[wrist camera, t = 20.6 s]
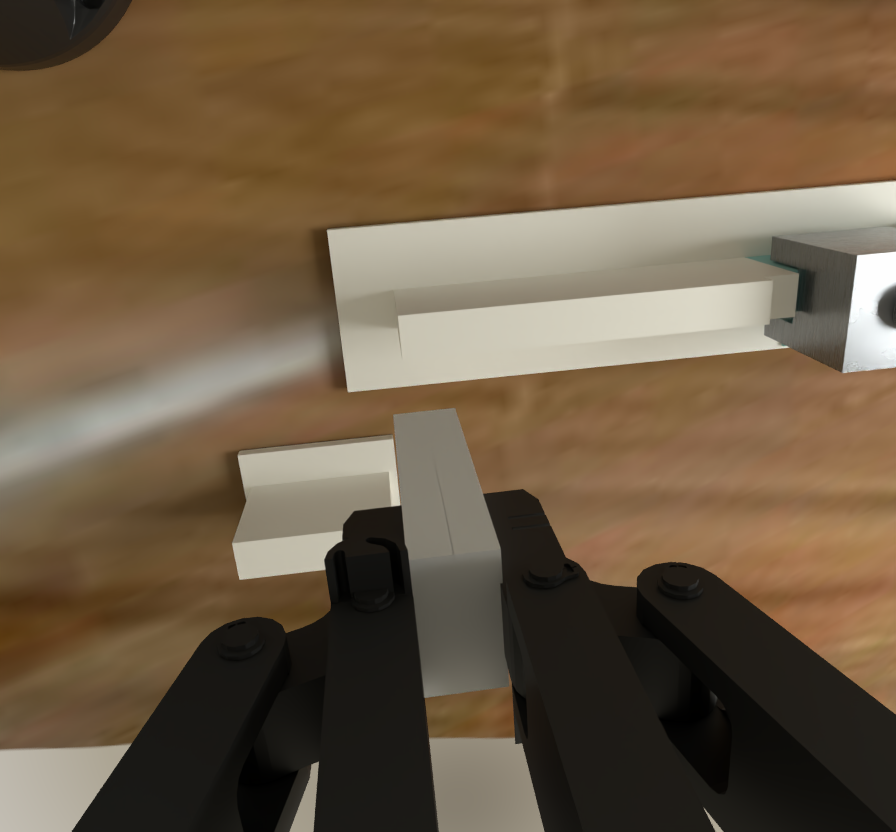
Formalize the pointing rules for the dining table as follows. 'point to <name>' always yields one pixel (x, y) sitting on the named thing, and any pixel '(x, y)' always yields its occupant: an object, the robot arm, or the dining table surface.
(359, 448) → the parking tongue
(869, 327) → the grey cube with knob
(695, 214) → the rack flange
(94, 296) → the dining table surface
